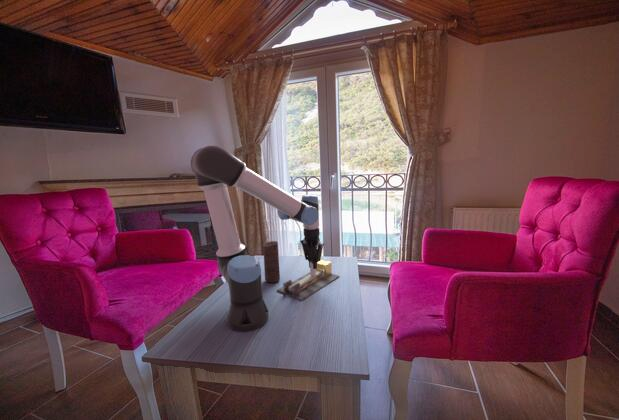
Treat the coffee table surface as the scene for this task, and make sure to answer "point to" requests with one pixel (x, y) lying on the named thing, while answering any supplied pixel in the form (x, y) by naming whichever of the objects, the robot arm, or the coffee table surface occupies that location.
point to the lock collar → (324, 267)
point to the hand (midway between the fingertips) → (313, 274)
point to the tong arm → (305, 280)
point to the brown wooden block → (271, 261)
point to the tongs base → (306, 286)
